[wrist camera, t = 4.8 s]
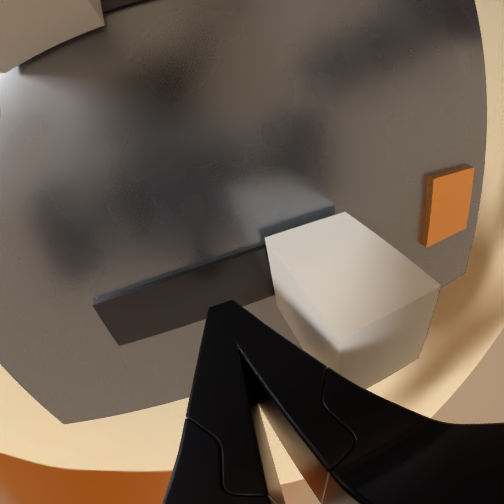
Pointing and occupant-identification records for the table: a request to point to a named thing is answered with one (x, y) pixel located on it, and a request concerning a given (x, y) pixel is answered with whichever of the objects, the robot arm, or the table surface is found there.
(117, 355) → the breaker panel
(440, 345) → the table surface
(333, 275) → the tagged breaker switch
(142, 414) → the table surface
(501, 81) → the table surface
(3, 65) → the switch
